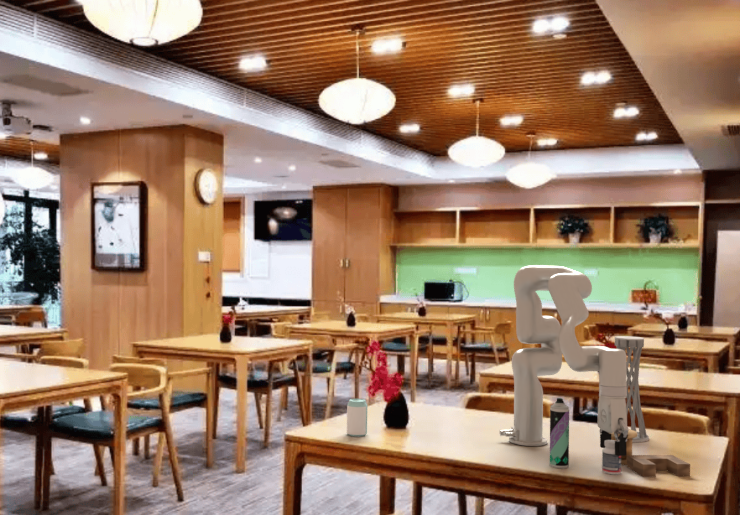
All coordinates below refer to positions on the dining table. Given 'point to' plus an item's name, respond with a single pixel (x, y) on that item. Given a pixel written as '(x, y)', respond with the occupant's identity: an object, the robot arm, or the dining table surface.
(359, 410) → the can
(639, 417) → the grey lattice tower
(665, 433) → the dining table surface
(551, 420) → the spray can
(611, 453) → the pill bottle
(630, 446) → the wooden spool
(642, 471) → the notched board
